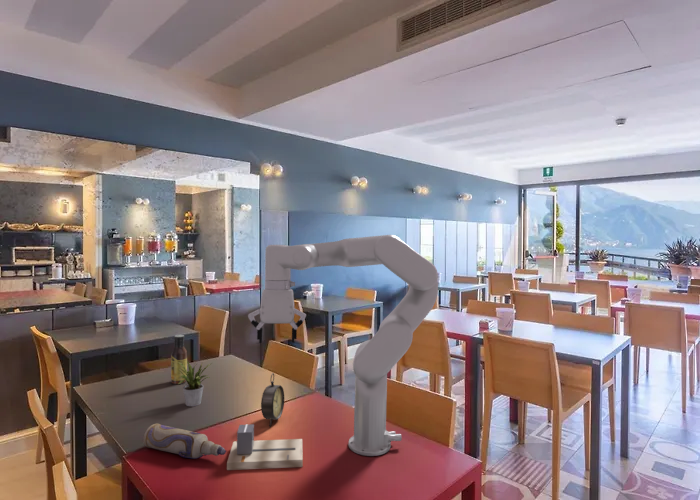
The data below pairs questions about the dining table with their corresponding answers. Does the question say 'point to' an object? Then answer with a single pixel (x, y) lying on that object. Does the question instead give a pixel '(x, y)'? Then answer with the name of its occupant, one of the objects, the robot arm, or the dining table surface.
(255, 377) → the dining table surface
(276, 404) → the alarm clock
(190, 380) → the house plant
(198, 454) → the decorative bottle
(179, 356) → the sauce bottle
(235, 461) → the fader board
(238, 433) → the fader slider
